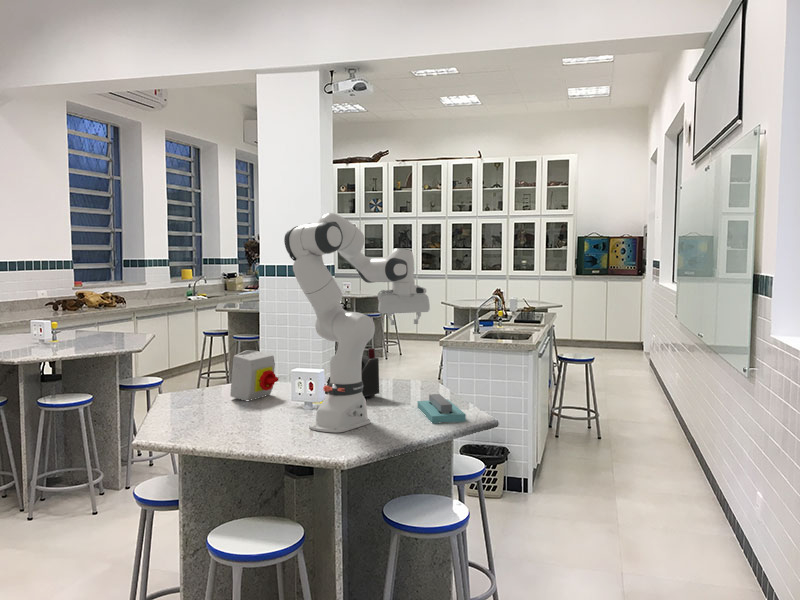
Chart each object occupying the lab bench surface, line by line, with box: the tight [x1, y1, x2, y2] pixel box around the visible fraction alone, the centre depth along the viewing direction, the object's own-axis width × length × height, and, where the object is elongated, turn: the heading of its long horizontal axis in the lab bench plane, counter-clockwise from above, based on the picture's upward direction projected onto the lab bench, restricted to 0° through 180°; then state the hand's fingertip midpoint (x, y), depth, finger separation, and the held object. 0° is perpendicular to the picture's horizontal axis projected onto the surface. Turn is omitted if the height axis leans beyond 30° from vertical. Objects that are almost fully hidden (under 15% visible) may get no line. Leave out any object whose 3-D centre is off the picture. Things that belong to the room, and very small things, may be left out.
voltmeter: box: [324, 348, 380, 398], centre depth 264 cm, size 16×16×20 cm
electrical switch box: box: [229, 349, 279, 401], centre depth 265 cm, size 15×15×20 cm
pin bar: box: [428, 393, 452, 414], centre depth 233 cm, size 18×4×6 cm, turn 11°
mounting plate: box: [417, 398, 467, 424], centre depth 233 cm, size 24×12×2 cm, turn 11°
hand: (404, 324), depth 252 cm, fingers open, 8 cm apart
